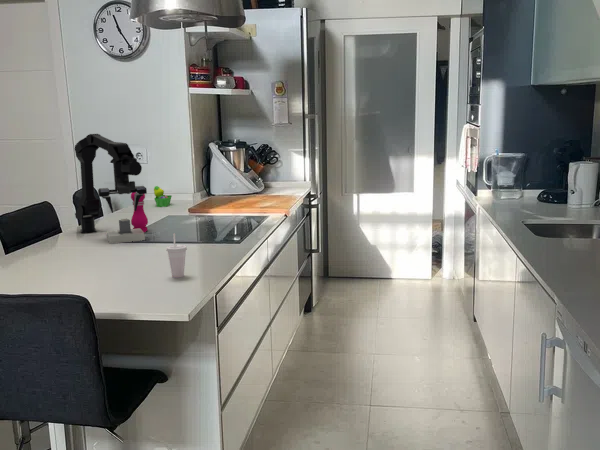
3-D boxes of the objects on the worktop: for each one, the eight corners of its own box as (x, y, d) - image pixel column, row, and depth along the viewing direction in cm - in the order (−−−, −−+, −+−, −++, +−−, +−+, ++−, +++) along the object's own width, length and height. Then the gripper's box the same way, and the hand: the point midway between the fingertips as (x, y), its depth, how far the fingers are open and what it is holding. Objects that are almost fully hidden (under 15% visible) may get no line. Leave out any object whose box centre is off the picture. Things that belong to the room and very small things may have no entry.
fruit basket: (168, 207, 334) (166, 187, 332) (152, 207, 334) (151, 187, 332) (172, 204, 345) (171, 184, 343) (157, 204, 345) (156, 184, 343)
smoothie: (169, 273, 195) (166, 231, 193) (189, 273, 196) (187, 231, 193) (166, 279, 189) (164, 235, 186) (187, 278, 189) (185, 235, 187)
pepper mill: (144, 233, 261) (141, 188, 258) (128, 233, 263) (125, 187, 259) (151, 230, 268) (148, 185, 265) (136, 229, 270) (133, 185, 266)
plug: (120, 238, 251) (118, 218, 249) (130, 238, 252) (128, 217, 251) (121, 240, 247) (119, 220, 246) (131, 239, 249) (129, 219, 247)
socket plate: (106, 238, 253) (106, 230, 252) (140, 235, 258) (140, 228, 257) (109, 243, 242) (109, 236, 241) (144, 240, 247) (144, 233, 247)
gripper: (99, 177, 234) (102, 216, 237) (147, 174, 241) (150, 212, 244) (96, 174, 244) (99, 212, 247) (143, 172, 251) (145, 209, 254)
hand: (123, 211), depth 248 cm, fingers open, 9 cm apart
